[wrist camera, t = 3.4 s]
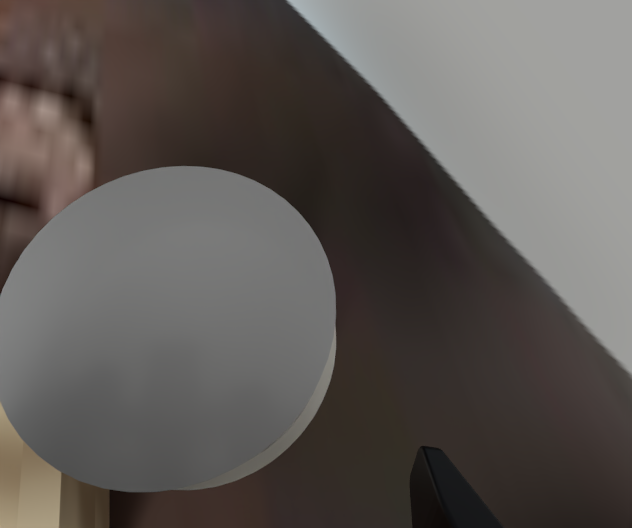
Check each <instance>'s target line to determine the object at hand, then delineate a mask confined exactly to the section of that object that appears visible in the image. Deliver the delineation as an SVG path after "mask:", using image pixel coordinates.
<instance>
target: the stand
mask: <svg viewBox="0 0 632 528" xmlns="http://www.w3.org/2000/svg"><path fill="white" fill-rule="evenodd" d="M0 296H1V294H0ZM0 528H109V489H104V488H100V487H97V486H94V485H91V484H88V483H84V482H81V481H78V480H76V479H74V478H72V477H70V476H68V475H66V474H64V473H62V472H60V471H58V470H57V469H55V468H54V467H53V466H51V465H50V464H48V463H47V462H46V461H44V460H43V459H42V458H40V457H39V456H38V455H37V454H36V453H35V452H34V451H33V450H32V449H31V448H30V447H29V446H28V445H27V444H26V443H25V442H24V441H23V440H22V439H21V437H20V436H19V434H18V433H17V432H16V430H15V429H14V427H13V426H12V424H11V423H10V421H9V420H8V418H7V415H6V413H5V411H4V409H3V407H2V405H1V402H0Z"/></svg>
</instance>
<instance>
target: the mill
mask: <svg viewBox="0 0 632 528" xmlns="http://www.w3.org/2000/svg"><path fill="white" fill-rule="evenodd" d="M335 321H336V294H335V288H334V282H333V276H332V272H331V269H330V266H329V262H328V259H327V256H326V254H325V252H324V250H323V248H322V245H321V243H320V241H319V239H318V238H317V236H316V235H315V233H314V231H313V230H312V228H311V227H310V225H309V224H308V223H307V222H306V220H305V219H304V218H303V217H302V216H301V214H300V213H299V212H298V211H297V210H296V209H295V208H294V207H293V206H292V205H290V204H289V203H288V202H287V201H286V200H285V199H284V198H282V197H281V196H279V195H278V194H277V193H275V192H274V191H272V190H271V189H269V188H267V187H265V186H264V185H262V184H260V183H258V182H256V181H254V180H252V179H249V178H246V177H244V176H241V175H239V174H236V173H232V172H228V171H224V170H220V169H214V168H207V167H198V166H175V167H162V168H156V169H151V170H145V171H141V172H137V173H134V174H130V175H127V176H123V177H121V178H118V179H116V180H113V181H111V182H108V183H106V184H104V185H102V186H100V187H98V188H96V189H94V190H92V191H90V192H88V193H86V194H85V195H83V196H82V197H80V198H79V199H77V200H76V201H74V202H73V203H71V204H70V205H68V206H67V207H66V208H65V209H63V210H62V211H61V212H60V213H58V214H57V215H56V216H55V217H54V218H52V219H51V220H50V221H49V222H48V223H47V224H46V225H45V226H44V227H43V228H42V229H41V230H40V231H39V232H38V233H37V235H36V236H35V237H34V238H33V240H32V241H31V242H30V243H29V245H28V246H27V247H26V248H25V250H24V251H23V253H22V254H21V256H20V257H19V259H18V261H17V262H16V264H15V265H14V267H13V269H12V270H11V273H10V275H9V277H8V279H7V281H6V283H5V285H4V287H3V290H2V293H1V296H0V402H1V405H2V407H3V409H4V411H5V413H6V415H7V418H8V420H9V421H10V423H11V424H12V426H13V427H14V429H15V430H16V432H17V433H18V434H19V436H20V437H21V439H22V440H23V441H24V442H25V443H26V444H27V445H28V446H29V447H30V448H31V449H32V450H33V451H34V452H35V453H36V454H37V455H38V456H39V457H40V458H42V459H43V460H44V461H46V462H47V463H48V464H50V465H51V466H53V467H54V468H55V469H57V470H58V471H60V472H62V473H64V474H66V475H68V476H70V477H72V478H74V479H76V480H78V481H81V482H84V483H88V484H91V485H94V486H97V487H100V488H104V489H111V490H117V491H124V492H159V491H166V490H198V489H205V488H211V487H217V486H220V485H223V484H227V483H230V482H234V481H236V480H239V479H241V478H243V477H245V476H247V475H250V474H252V473H254V472H256V471H257V470H259V469H261V468H262V467H264V466H265V465H267V464H269V463H270V462H272V461H273V460H274V459H276V458H277V457H278V456H279V455H280V454H282V453H283V452H284V451H285V450H286V449H288V448H289V447H290V446H291V445H292V443H293V442H294V441H295V440H296V439H297V438H298V437H299V436H300V435H301V434H302V433H303V431H304V430H305V429H306V427H307V426H308V424H309V423H310V422H311V420H312V419H313V417H314V416H315V414H316V412H317V410H318V408H319V407H320V405H321V403H322V401H323V399H324V396H325V394H326V391H327V388H328V386H329V383H330V380H331V376H332V372H333V368H334V362H335V353H336V328H335Z"/></svg>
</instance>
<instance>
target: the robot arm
mask: <svg viewBox="0 0 632 528" xmlns="http://www.w3.org/2000/svg"><path fill="white" fill-rule="evenodd" d="M410 497H411V512H412V526H413V528H504V527H503V526H502V524H501V523H500V522H499V521H498V519H497V518H496V517H495V516H494V514H493V513H492V512H491V511H490V509H489V508H488V507H487V506H486V504H485V503H484V502H483V501H482V499H481V498H480V497H479V496H478V494H477V493H476V492H475V491H474V489H473V488H472V487H471V486H470V484H469V483H468V482H467V481H466V480H465V478H464V477H463V476H462V475H461V473H460V472H459V471H458V470H457V468H456V467H455V466H454V465H453V463H452V462H451V461H450V460H449V458H448V457H447V456H446V455H445V453H444V452H443V451H442V450H441V449H439V448H434V447H427V446H421V447H420V448H419V450H418V452H417V455H416V459H415V462H414V465H413V468H412V471H411V475H410Z"/></svg>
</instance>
